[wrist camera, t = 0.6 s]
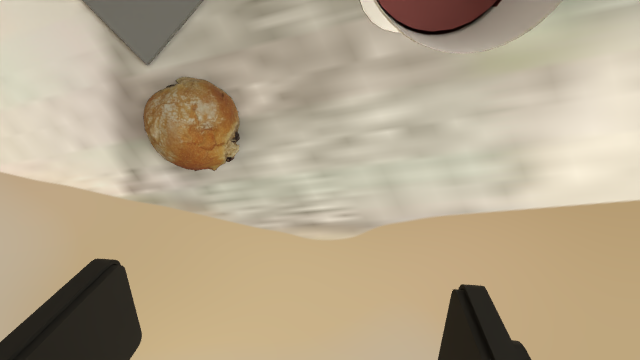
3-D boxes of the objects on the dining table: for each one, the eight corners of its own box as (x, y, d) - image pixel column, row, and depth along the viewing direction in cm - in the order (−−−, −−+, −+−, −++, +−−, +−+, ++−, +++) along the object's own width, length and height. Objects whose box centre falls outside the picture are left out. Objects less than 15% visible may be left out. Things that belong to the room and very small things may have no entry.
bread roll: (230, 70, 41) (184, 46, 33) (264, 148, 40) (226, 142, 32) (167, 112, 44) (111, 98, 36) (198, 186, 43) (147, 188, 35)
